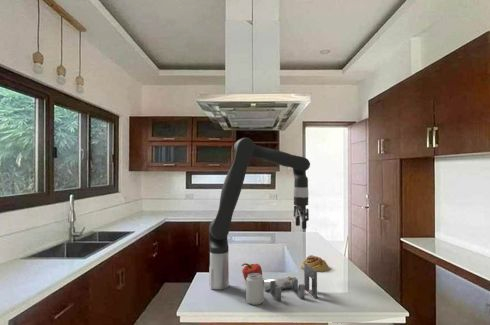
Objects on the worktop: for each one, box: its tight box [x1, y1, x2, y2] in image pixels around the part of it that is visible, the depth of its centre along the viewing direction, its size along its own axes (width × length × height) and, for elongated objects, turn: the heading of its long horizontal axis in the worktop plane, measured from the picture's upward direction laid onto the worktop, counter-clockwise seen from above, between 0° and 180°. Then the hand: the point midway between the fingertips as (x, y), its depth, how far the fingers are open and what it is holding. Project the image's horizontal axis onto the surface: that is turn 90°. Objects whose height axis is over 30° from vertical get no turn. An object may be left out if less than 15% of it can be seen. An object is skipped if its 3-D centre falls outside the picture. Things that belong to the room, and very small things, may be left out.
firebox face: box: [303, 264, 318, 300], centre depth 163 cm, size 1×12×12 cm, turn 13°
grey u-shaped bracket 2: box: [292, 277, 306, 300], centre depth 162 cm, size 2×10×6 cm, turn 13°
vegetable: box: [241, 262, 263, 282], centre depth 179 cm, size 11×10×10 cm
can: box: [245, 273, 264, 306], centre depth 154 cm, size 8×8×12 cm
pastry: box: [301, 254, 330, 273], centre depth 202 cm, size 13×15×8 cm
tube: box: [263, 276, 297, 292], centre depth 170 cm, size 16×5×5 cm, turn 103°
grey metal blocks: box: [269, 280, 282, 302], centre depth 159 cm, size 2×10×6 cm, turn 13°
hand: (300, 227), depth 182 cm, fingers open, 8 cm apart
